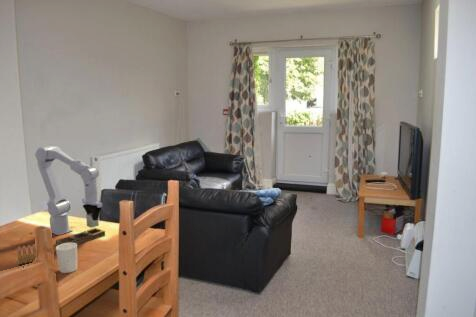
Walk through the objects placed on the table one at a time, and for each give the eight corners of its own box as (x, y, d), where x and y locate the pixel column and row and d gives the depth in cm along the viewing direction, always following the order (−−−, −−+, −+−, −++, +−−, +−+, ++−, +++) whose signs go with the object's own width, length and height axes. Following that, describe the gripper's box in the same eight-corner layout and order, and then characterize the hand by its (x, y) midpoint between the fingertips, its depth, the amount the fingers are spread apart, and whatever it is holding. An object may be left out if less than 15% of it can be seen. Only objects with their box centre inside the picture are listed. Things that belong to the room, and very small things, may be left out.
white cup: (61, 265, 168) (59, 242, 166) (81, 264, 168) (79, 242, 166) (54, 274, 160) (52, 250, 158) (75, 273, 160) (73, 249, 159)
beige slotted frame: (55, 244, 190) (55, 239, 190) (96, 231, 206) (95, 227, 206) (64, 248, 185) (64, 243, 185) (105, 235, 201) (104, 231, 201)
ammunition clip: (19, 276, 158) (15, 247, 156) (19, 274, 160) (16, 245, 158) (49, 270, 163) (46, 242, 161) (48, 269, 165) (46, 241, 162)
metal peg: (86, 226, 200) (86, 214, 199) (94, 224, 203) (93, 212, 202) (91, 227, 197) (90, 215, 196) (98, 225, 200) (98, 213, 199)
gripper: (75, 191, 199) (77, 218, 201) (91, 196, 190) (93, 224, 192) (88, 188, 204) (90, 214, 206) (105, 193, 195) (107, 220, 197)
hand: (93, 219), depth 200 cm, fingers closed on metal peg, 4 cm apart
